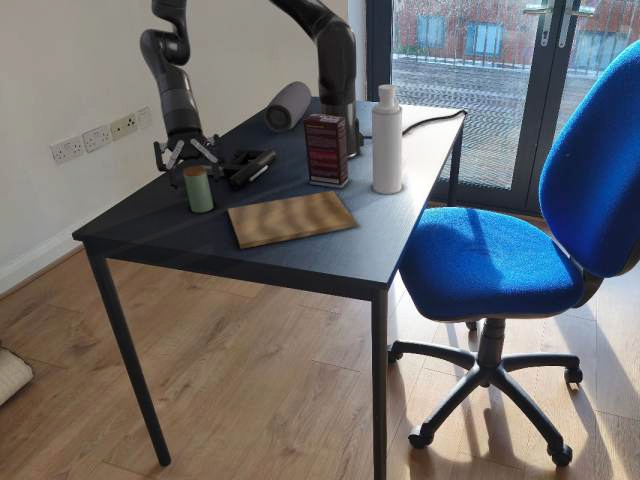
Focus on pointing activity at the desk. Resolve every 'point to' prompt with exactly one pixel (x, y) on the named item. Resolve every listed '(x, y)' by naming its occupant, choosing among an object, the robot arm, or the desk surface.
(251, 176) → the door handle
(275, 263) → the desk surface
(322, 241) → the desk surface
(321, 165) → the supplement box
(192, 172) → the salt pot
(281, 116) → the bluetooth speaker
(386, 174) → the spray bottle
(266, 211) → the oak board
